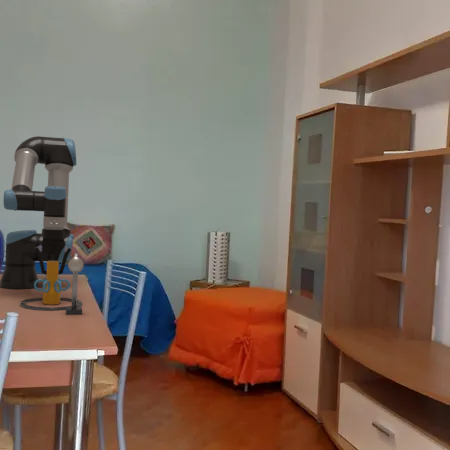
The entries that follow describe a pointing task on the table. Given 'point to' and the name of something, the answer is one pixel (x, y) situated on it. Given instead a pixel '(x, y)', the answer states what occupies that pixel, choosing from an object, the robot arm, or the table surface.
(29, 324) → the table surface
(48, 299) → the cylinder
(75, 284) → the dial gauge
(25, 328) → the table surface
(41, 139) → the robot arm
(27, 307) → the centring ring
